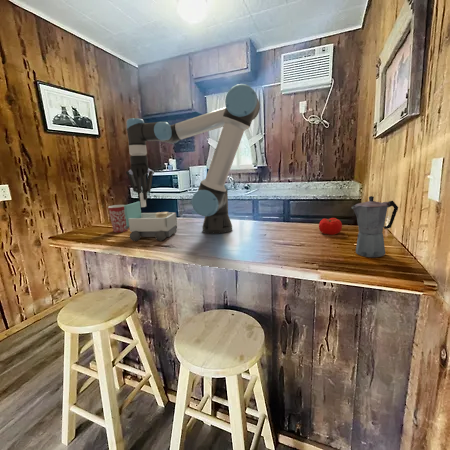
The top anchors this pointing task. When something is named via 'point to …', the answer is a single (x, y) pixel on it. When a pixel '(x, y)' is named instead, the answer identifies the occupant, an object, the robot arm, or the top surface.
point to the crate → (161, 214)
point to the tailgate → (132, 212)
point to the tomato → (330, 226)
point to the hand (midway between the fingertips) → (143, 206)
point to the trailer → (152, 226)
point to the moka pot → (372, 226)
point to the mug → (118, 218)
